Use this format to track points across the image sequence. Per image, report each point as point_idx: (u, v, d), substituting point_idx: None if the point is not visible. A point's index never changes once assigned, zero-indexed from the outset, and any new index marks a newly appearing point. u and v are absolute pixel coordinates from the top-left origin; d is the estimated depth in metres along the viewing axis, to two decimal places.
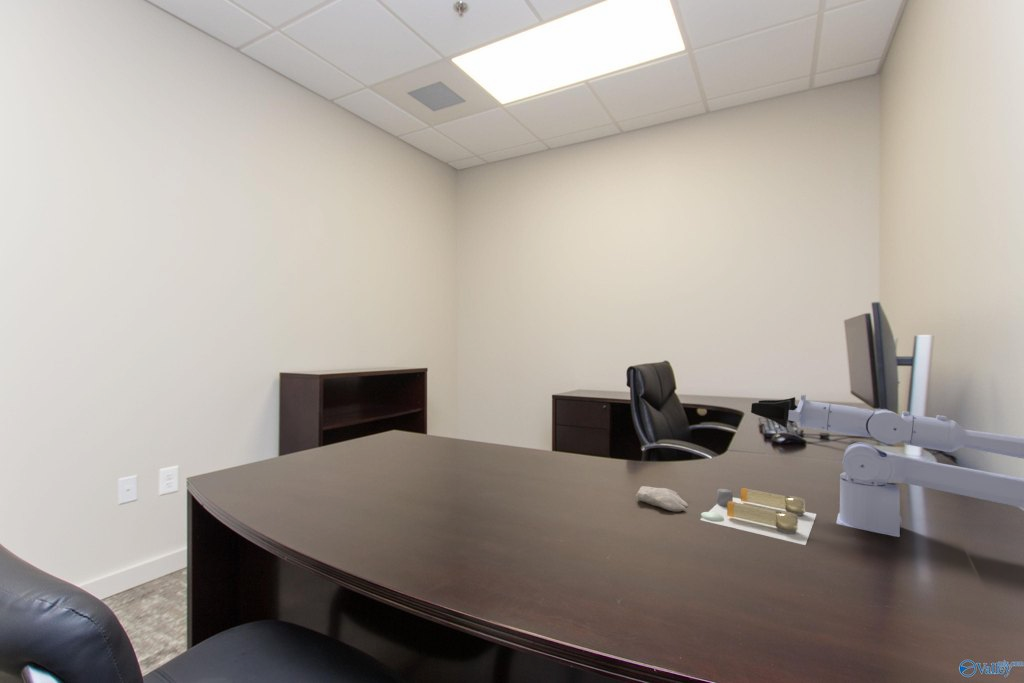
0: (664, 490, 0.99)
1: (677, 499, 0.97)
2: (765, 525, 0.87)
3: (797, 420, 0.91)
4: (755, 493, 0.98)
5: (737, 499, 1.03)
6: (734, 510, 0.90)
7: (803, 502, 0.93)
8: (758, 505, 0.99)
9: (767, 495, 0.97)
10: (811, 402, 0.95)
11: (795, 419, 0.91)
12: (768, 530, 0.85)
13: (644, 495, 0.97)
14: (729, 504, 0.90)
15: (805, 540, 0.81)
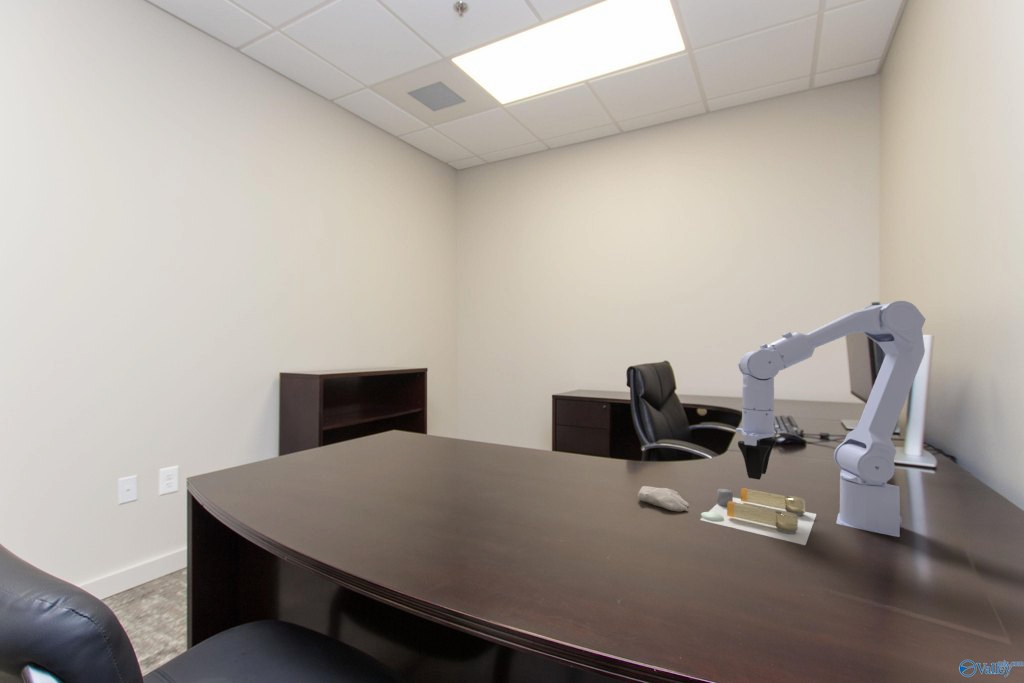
0: (665, 490, 0.99)
1: (678, 499, 0.97)
2: (765, 525, 0.87)
3: (754, 437, 0.87)
4: (755, 493, 0.98)
5: (737, 499, 1.03)
6: (734, 510, 0.90)
7: (803, 502, 0.93)
8: (758, 505, 0.99)
9: (767, 495, 0.97)
10: (742, 423, 0.94)
11: (753, 439, 0.87)
12: (768, 530, 0.85)
13: (646, 495, 0.97)
14: (729, 504, 0.90)
15: (805, 540, 0.81)
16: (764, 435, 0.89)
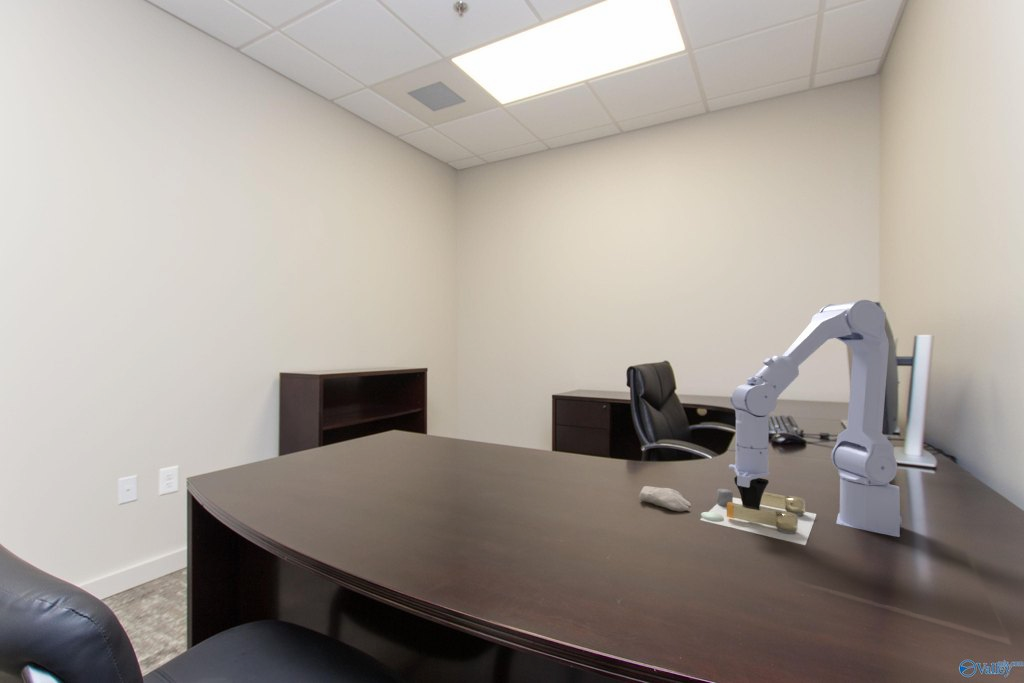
0: (667, 490, 0.99)
1: (680, 499, 0.98)
2: (765, 525, 0.87)
3: (747, 478, 0.83)
4: None
5: (737, 499, 1.03)
6: (733, 511, 0.89)
7: (803, 502, 0.93)
8: None
9: (767, 495, 0.97)
10: (735, 460, 0.90)
11: (746, 480, 0.83)
12: (768, 530, 0.85)
13: (648, 495, 0.97)
14: (729, 505, 0.89)
15: (805, 540, 0.81)
16: (758, 475, 0.85)
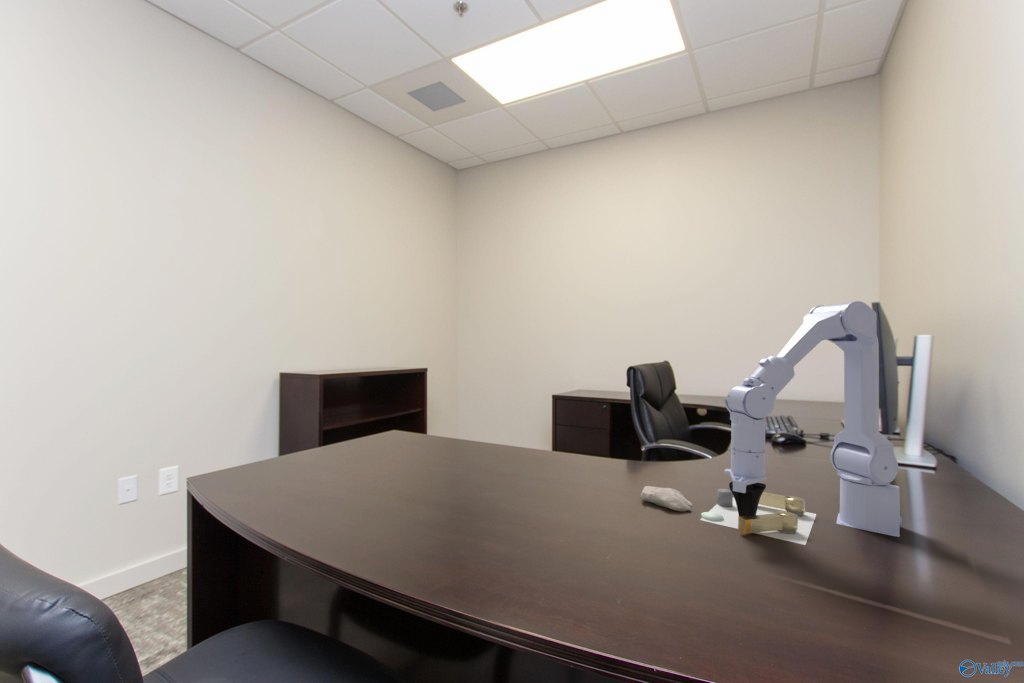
0: (669, 490, 1.00)
1: (682, 499, 0.98)
2: None
3: (743, 483, 0.80)
4: None
5: None
6: (750, 525, 0.82)
7: (803, 502, 0.93)
8: (758, 505, 0.99)
9: (767, 495, 0.97)
10: (731, 464, 0.87)
11: (742, 485, 0.80)
12: None
13: (649, 495, 0.98)
14: (747, 520, 0.81)
15: (805, 540, 0.81)
16: (754, 480, 0.82)
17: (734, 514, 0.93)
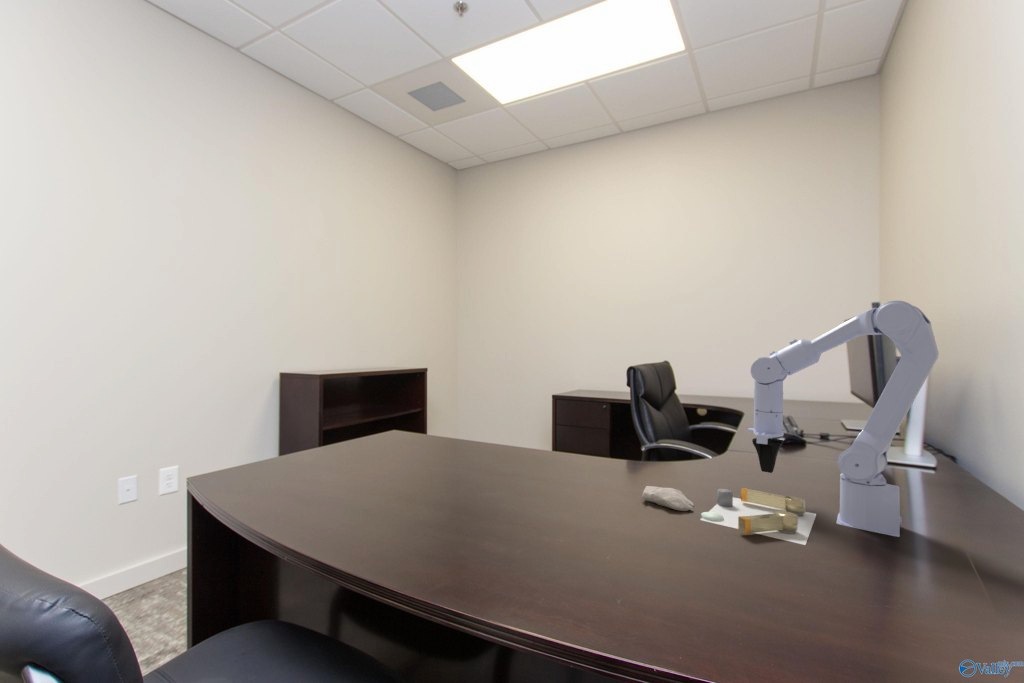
0: (670, 490, 1.00)
1: (683, 499, 0.98)
2: None
3: (765, 436, 0.97)
4: (755, 493, 0.98)
5: (737, 499, 1.03)
6: (750, 525, 0.82)
7: (803, 502, 0.93)
8: (758, 505, 0.99)
9: (767, 495, 0.97)
10: (754, 424, 1.04)
11: (764, 438, 0.97)
12: None
13: (651, 495, 0.98)
14: (747, 520, 0.81)
15: (805, 540, 0.81)
16: (774, 435, 0.99)
17: (734, 514, 0.93)
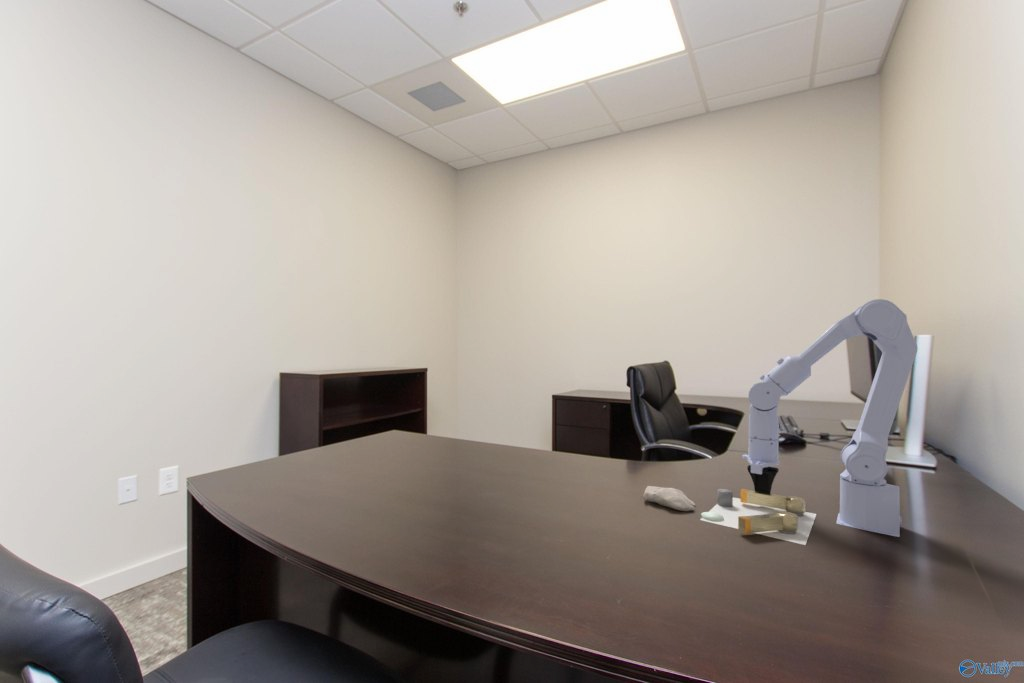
0: (672, 490, 1.00)
1: (685, 499, 0.98)
2: None
3: (760, 466, 0.93)
4: (755, 494, 0.97)
5: (737, 499, 1.03)
6: (750, 525, 0.82)
7: (803, 502, 0.93)
8: (758, 505, 0.99)
9: (767, 496, 0.96)
10: (748, 451, 1.00)
11: (759, 467, 0.93)
12: None
13: (653, 495, 0.98)
14: (747, 520, 0.81)
15: (805, 540, 0.81)
16: (769, 463, 0.95)
17: (734, 514, 0.93)
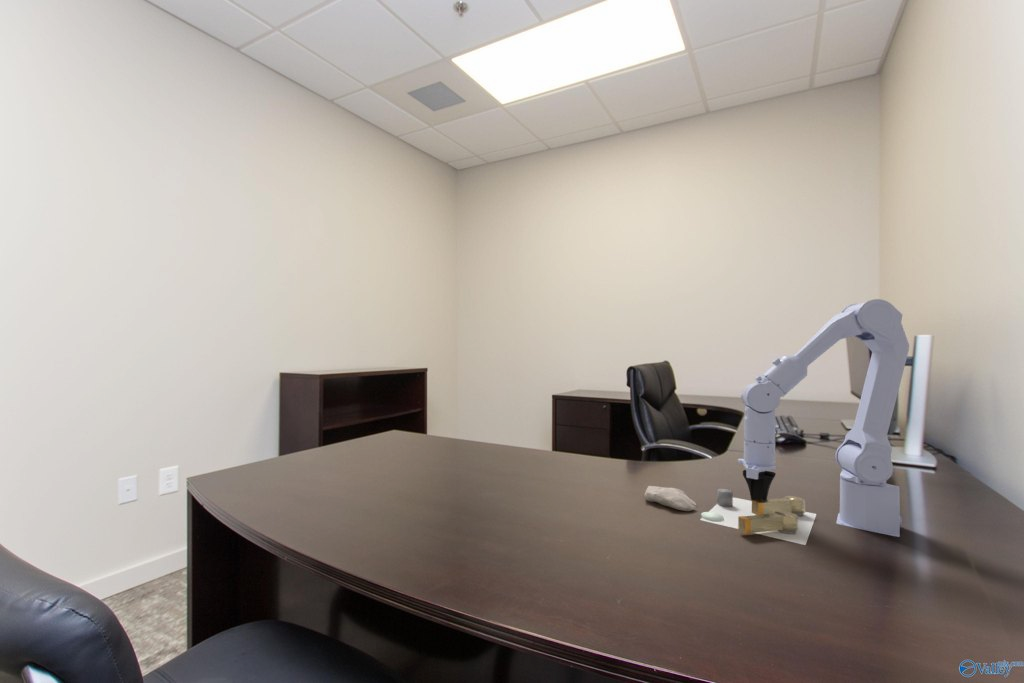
0: (673, 490, 1.00)
1: (686, 498, 0.98)
2: None
3: (756, 470, 0.89)
4: (769, 503, 0.92)
5: (737, 499, 1.03)
6: (750, 525, 0.82)
7: None
8: None
9: (778, 502, 0.92)
10: (744, 454, 0.96)
11: (755, 472, 0.89)
12: None
13: (654, 495, 0.98)
14: (747, 520, 0.81)
15: (805, 540, 0.81)
16: (766, 468, 0.91)
17: (734, 514, 0.93)
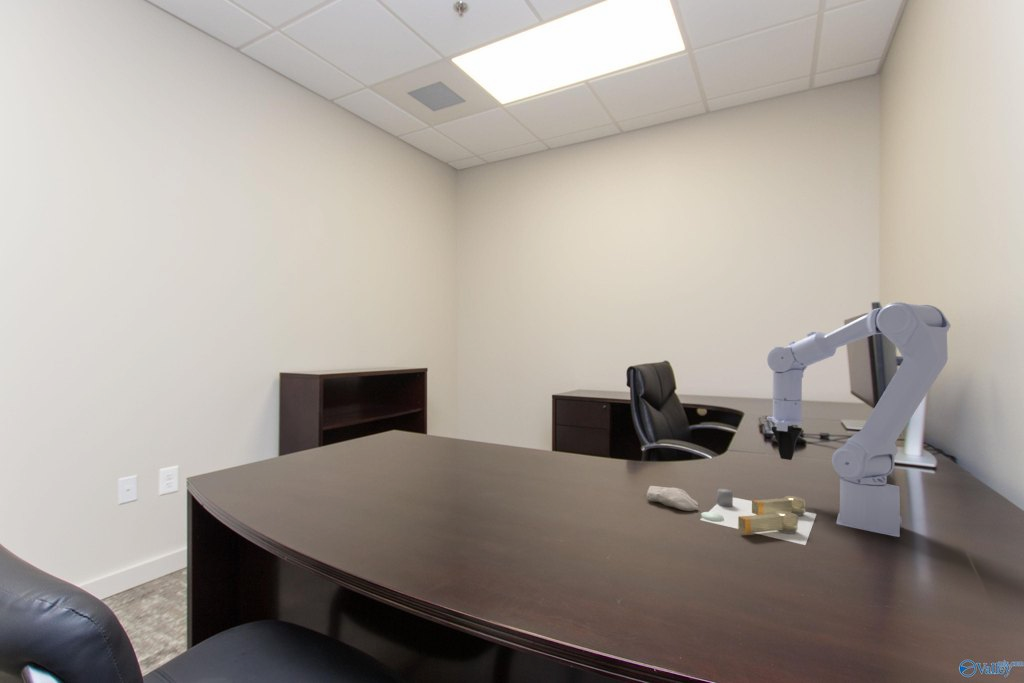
0: (675, 490, 1.00)
1: (688, 498, 0.98)
2: None
3: (785, 423, 0.99)
4: (769, 503, 0.92)
5: (737, 499, 1.03)
6: (750, 525, 0.82)
7: None
8: None
9: (779, 502, 0.92)
10: (773, 412, 1.06)
11: (785, 425, 0.99)
12: None
13: (656, 495, 0.98)
14: (747, 520, 0.81)
15: (805, 540, 0.81)
16: (794, 422, 1.01)
17: (734, 514, 0.93)
